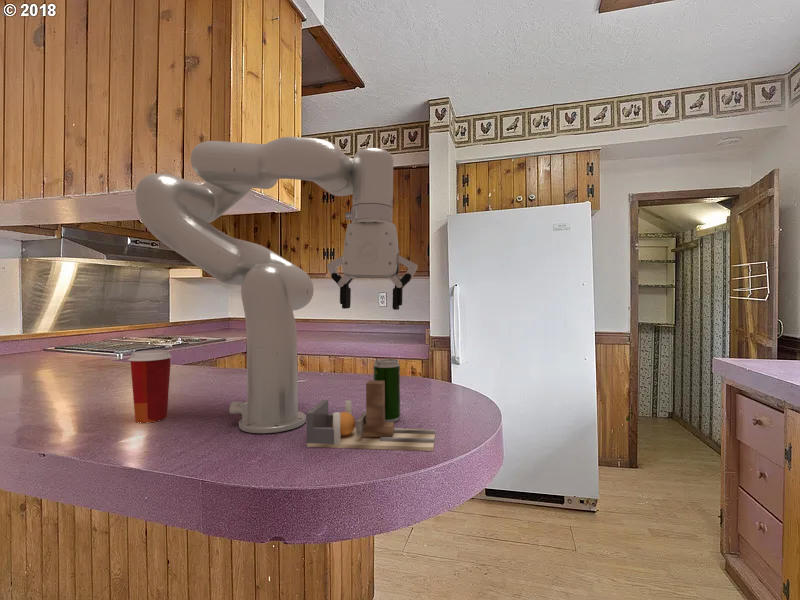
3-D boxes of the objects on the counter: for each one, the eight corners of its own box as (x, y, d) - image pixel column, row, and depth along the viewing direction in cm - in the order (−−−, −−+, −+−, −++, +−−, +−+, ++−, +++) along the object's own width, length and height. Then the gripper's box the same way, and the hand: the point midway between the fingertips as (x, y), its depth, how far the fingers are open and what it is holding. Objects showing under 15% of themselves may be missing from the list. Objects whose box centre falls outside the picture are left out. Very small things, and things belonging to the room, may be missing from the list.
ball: (348, 442, 69) (326, 434, 70) (354, 434, 73) (333, 427, 74) (355, 419, 69) (332, 412, 70) (360, 413, 73) (339, 406, 74)
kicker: (395, 429, 73) (394, 378, 73) (390, 440, 67) (390, 385, 67) (363, 428, 74) (363, 378, 74) (356, 439, 68) (355, 385, 68)
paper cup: (176, 412, 89) (175, 349, 89) (168, 422, 82) (167, 353, 82) (134, 416, 87) (134, 350, 87) (123, 426, 80) (122, 355, 80)
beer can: (382, 425, 79) (382, 363, 79) (369, 418, 83) (368, 360, 83) (405, 420, 82) (404, 360, 82) (391, 414, 86) (390, 357, 86)
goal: (306, 443, 67) (306, 413, 67) (323, 426, 77) (323, 399, 77) (339, 444, 67) (339, 414, 67) (352, 427, 76) (352, 400, 76)
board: (306, 446, 68) (306, 440, 68) (323, 429, 76) (323, 423, 76) (433, 451, 65) (433, 444, 65) (435, 432, 74) (435, 426, 74)
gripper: (321, 214, 74) (319, 308, 74) (415, 212, 71) (413, 310, 71) (335, 222, 82) (333, 307, 82) (420, 221, 78) (419, 309, 79)
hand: (370, 308), depth 76 cm, fingers open, 9 cm apart
